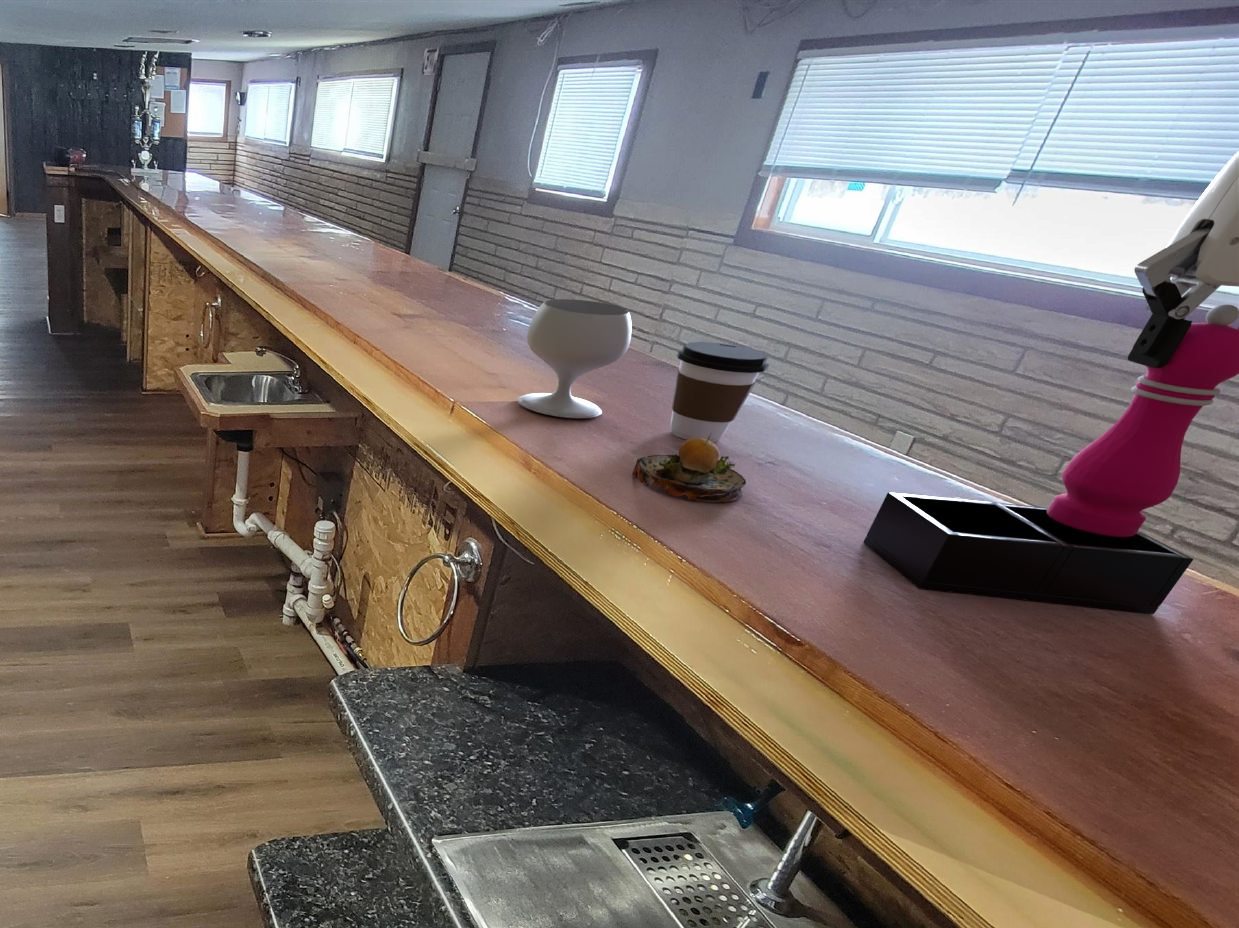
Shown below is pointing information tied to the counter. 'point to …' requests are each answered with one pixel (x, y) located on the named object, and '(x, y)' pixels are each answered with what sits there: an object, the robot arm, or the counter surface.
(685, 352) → the coffee cup
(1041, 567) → the divided box
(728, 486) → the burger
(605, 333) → the chalice
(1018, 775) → the counter surface
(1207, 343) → the pepper mill
